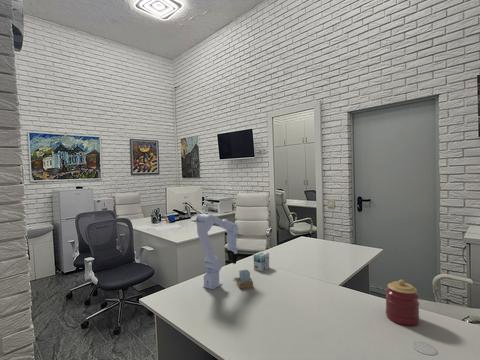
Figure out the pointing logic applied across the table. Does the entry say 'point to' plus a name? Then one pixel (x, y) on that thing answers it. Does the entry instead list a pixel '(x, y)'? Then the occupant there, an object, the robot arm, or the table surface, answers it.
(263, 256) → the light bulb box
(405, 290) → the canister
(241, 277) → the slate cube
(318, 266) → the table surface
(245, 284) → the walnut block
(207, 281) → the robot arm
